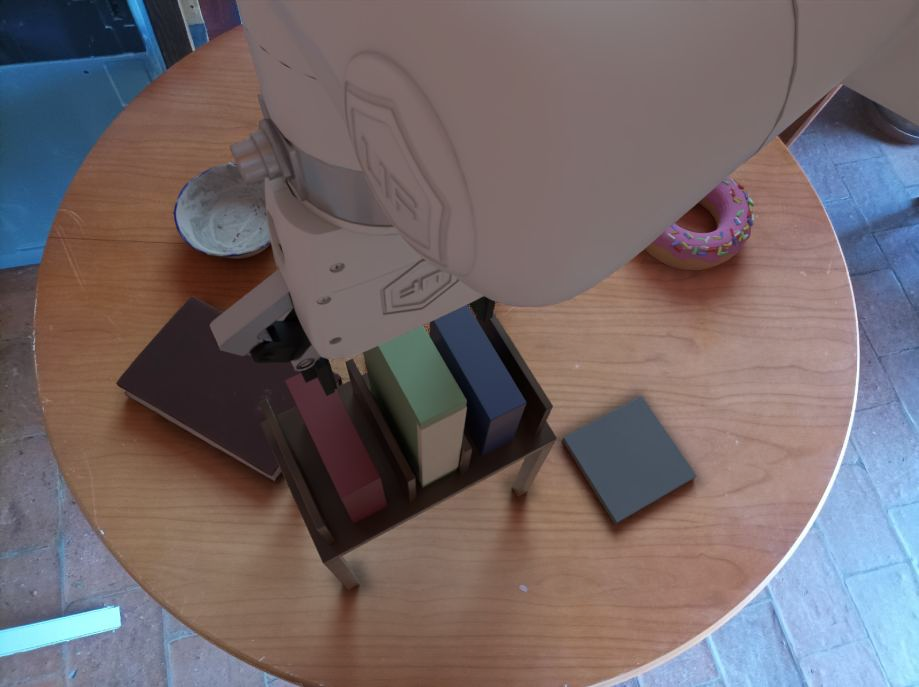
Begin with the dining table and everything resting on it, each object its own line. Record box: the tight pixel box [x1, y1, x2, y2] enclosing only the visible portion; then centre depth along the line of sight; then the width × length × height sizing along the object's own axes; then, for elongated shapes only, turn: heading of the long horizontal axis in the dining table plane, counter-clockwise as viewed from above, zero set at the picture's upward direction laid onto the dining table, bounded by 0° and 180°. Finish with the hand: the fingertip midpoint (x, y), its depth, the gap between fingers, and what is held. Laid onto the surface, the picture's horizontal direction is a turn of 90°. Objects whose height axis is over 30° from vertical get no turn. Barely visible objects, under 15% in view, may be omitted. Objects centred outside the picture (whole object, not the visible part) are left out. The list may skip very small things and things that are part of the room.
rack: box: [259, 311, 558, 591], centre depth 60 cm, size 12×20×24 cm, turn 119°
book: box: [115, 295, 343, 484], centre depth 73 cm, size 13×19×3 cm, turn 61°
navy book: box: [429, 304, 526, 456], centre depth 52 cm, size 9×3×8 cm, turn 28°
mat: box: [561, 395, 698, 525], centre depth 73 cm, size 10×10×1 cm
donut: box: [644, 175, 755, 271], centre depth 84 cm, size 14×14×5 cm
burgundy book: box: [285, 373, 387, 524], centre depth 50 cm, size 9×3×8 cm, turn 29°
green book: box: [362, 325, 467, 487], centre depth 48 cm, size 9×3×15 cm, turn 29°
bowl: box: [172, 161, 271, 260], centre depth 81 cm, size 13×13×5 cm
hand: (399, 335), depth 40 cm, fingers open, 9 cm apart
